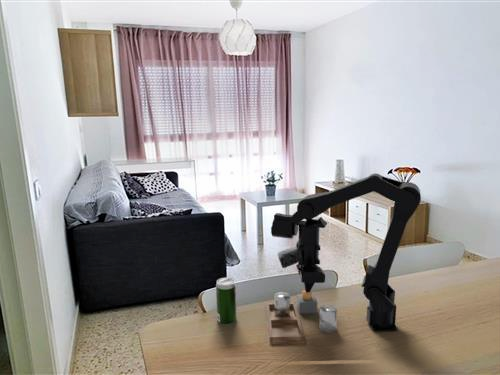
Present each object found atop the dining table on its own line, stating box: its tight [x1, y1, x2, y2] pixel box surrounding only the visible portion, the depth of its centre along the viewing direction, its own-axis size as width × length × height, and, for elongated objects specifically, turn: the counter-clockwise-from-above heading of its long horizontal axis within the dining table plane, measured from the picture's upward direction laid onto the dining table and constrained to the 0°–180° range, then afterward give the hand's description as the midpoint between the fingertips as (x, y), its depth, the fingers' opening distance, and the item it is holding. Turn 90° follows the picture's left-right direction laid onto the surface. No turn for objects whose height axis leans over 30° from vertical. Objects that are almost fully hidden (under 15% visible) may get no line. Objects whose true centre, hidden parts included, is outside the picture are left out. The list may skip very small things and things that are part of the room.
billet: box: [318, 304, 338, 334], centre depth 102 cm, size 4×4×6 cm
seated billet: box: [273, 291, 291, 317], centre depth 108 cm, size 4×4×6 cm
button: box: [301, 288, 313, 301], centre depth 111 cm, size 3×3×2 cm
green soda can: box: [215, 277, 238, 326], centre depth 106 cm, size 5×5×12 cm
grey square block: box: [296, 293, 318, 315], centre depth 112 cm, size 5×5×4 cm
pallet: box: [265, 301, 306, 345], centre depth 105 cm, size 9×18×2 cm, turn 0°
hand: (307, 292), depth 111 cm, fingers closed, pressing on button
